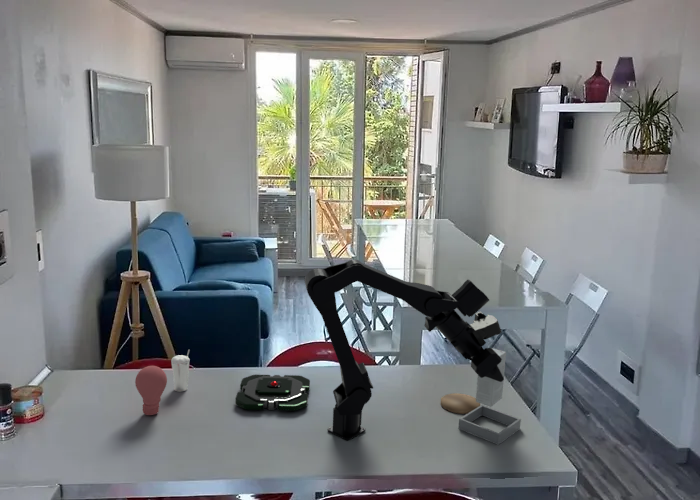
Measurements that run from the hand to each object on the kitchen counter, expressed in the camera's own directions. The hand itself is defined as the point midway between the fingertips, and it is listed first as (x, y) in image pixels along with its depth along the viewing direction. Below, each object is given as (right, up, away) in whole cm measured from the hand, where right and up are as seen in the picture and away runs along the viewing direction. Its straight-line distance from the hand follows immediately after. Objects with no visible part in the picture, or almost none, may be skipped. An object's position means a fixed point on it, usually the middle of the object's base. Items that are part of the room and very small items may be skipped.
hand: (496, 374), depth 148 cm
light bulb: (-82, -10, +2) cm, 82 cm away
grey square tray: (-1, -13, +1) cm, 13 cm away
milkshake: (-78, -7, +16) cm, 80 cm away
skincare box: (-2, -7, +1) cm, 7 cm away
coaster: (-6, -10, +13) cm, 18 cm away
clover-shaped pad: (-54, -9, +14) cm, 56 cm away
